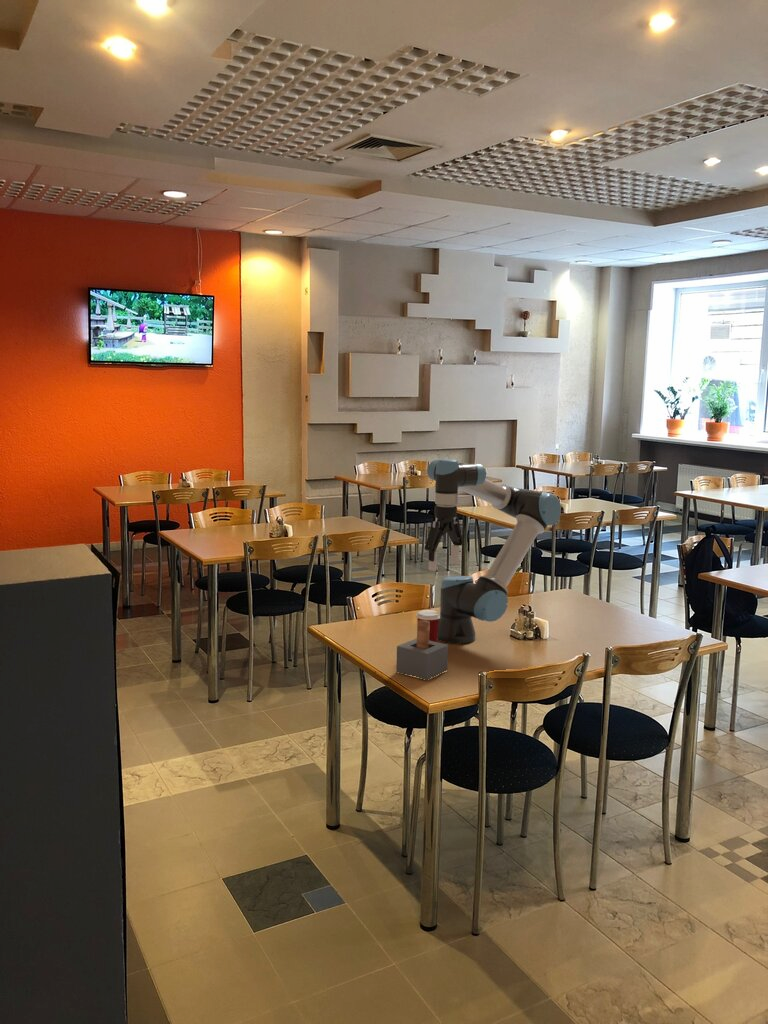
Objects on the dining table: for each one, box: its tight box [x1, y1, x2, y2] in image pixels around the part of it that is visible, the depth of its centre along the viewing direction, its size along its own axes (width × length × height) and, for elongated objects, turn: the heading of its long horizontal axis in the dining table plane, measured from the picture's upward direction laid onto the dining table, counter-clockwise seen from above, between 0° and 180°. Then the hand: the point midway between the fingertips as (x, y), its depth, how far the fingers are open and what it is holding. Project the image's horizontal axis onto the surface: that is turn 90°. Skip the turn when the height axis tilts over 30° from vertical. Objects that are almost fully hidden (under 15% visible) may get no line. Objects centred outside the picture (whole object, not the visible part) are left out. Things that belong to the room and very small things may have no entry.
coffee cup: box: [415, 609, 440, 642], centre depth 297 cm, size 8×8×15 cm
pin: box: [416, 620, 430, 650], centre depth 278 cm, size 4×4×14 cm
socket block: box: [395, 637, 449, 681], centre depth 279 cm, size 12×12×9 cm
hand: (443, 567), depth 291 cm, fingers open, 13 cm apart
